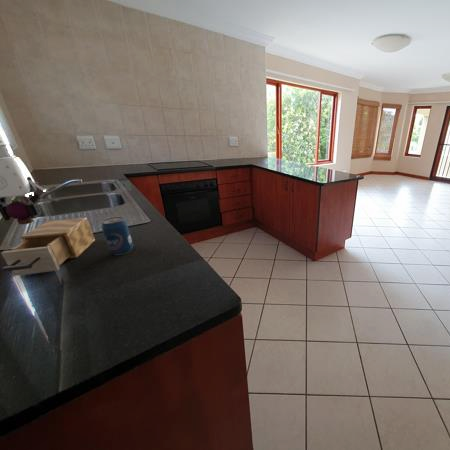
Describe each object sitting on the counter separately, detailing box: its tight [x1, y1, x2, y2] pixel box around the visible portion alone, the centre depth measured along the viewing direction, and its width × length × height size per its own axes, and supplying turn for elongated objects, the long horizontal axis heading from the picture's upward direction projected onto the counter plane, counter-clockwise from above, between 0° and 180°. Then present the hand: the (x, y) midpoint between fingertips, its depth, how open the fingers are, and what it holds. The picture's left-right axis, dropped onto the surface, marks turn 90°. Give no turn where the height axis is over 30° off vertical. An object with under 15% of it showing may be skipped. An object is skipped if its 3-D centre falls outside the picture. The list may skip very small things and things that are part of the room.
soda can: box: [101, 216, 134, 256], centre depth 82 cm, size 7×7×12 cm
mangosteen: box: [6, 198, 34, 225], centre depth 68 cm, size 5×5×7 cm
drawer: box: [0, 235, 72, 277], centre depth 72 cm, size 18×10×8 cm, turn 18°
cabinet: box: [20, 217, 96, 260], centre depth 83 cm, size 14×12×10 cm
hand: (23, 217), depth 68 cm, fingers closed on mangosteen, 5 cm apart
